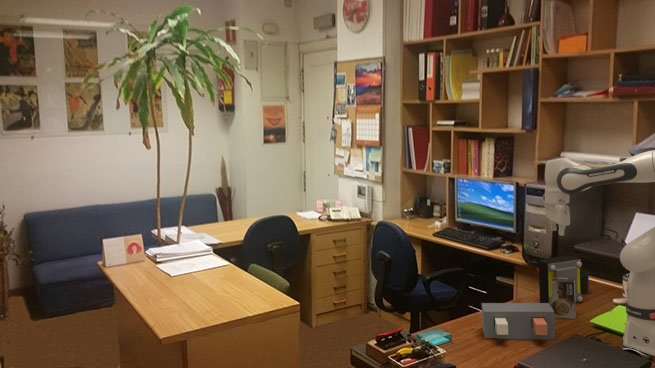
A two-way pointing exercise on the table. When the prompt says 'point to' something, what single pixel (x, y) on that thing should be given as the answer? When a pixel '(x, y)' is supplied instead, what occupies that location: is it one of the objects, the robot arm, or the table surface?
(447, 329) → the table surface
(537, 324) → the rust plug
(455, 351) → the table surface
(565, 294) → the coffee box
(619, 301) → the table surface
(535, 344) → the table surface
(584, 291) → the pen holder
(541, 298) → the electrical component
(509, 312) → the block
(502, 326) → the beige plug
